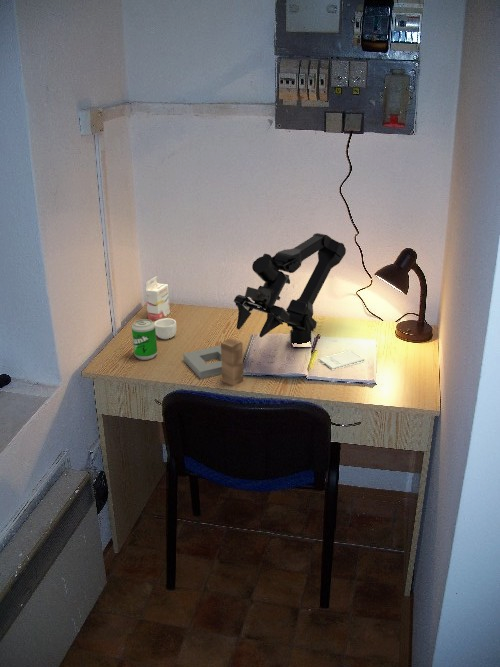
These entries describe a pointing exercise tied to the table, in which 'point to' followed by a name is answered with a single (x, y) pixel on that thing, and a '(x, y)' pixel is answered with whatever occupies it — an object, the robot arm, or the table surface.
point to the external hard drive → (341, 359)
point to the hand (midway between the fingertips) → (248, 332)
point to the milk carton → (157, 299)
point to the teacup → (165, 328)
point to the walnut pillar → (232, 361)
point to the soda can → (144, 339)
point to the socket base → (200, 366)
